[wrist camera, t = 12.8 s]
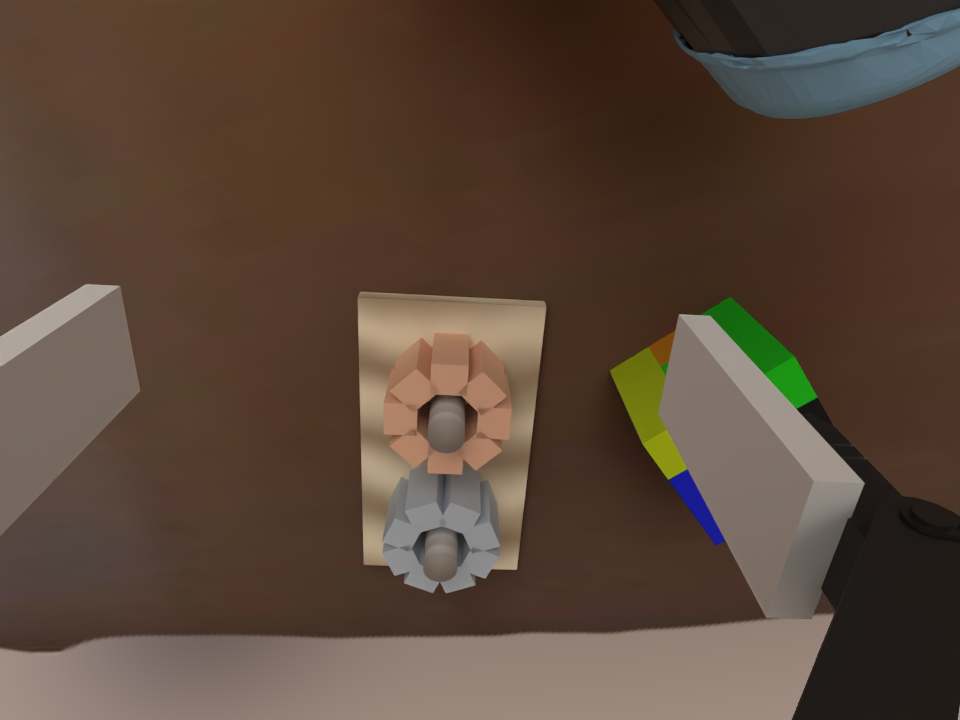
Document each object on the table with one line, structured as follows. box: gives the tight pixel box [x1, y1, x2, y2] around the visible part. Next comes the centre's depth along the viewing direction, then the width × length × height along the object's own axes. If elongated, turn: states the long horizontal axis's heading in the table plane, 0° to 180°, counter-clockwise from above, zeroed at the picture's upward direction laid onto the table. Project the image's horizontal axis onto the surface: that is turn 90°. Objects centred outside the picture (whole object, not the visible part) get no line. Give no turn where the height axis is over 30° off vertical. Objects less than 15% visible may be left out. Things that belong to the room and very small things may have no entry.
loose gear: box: [384, 333, 512, 475], centre depth 45 cm, size 8×8×5 cm
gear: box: [382, 465, 500, 593], centre depth 49 cm, size 8×8×5 cm
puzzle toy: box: [610, 297, 834, 545], centre depth 44 cm, size 10×10×10 cm
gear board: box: [358, 292, 546, 582], centre depth 47 cm, size 24×13×8 cm, turn 177°
